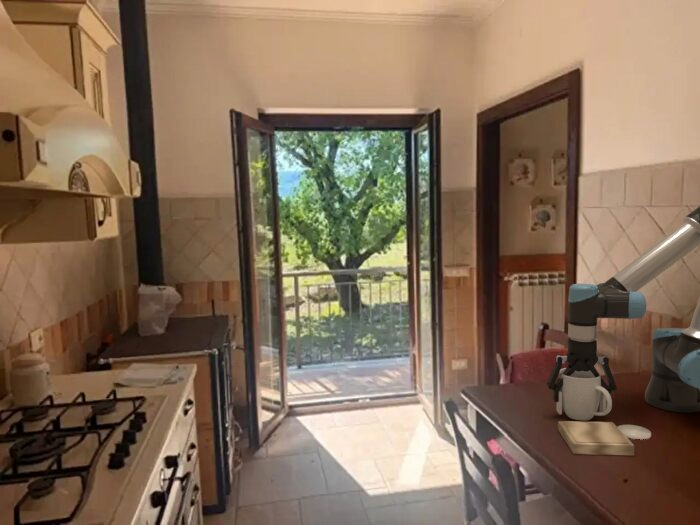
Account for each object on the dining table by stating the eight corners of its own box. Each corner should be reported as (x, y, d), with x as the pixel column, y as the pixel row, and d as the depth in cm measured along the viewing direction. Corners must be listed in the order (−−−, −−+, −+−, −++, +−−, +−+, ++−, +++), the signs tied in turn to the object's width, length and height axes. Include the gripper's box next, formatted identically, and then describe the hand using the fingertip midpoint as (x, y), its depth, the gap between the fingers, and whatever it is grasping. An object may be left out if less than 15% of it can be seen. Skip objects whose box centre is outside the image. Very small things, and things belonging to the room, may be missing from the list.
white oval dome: (642, 428, 140) (642, 424, 140) (656, 441, 132) (656, 437, 132) (611, 428, 141) (611, 424, 141) (624, 440, 133) (624, 437, 133)
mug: (621, 422, 144) (622, 376, 143) (599, 432, 138) (599, 385, 137) (573, 406, 156) (573, 364, 155) (550, 415, 150) (550, 371, 149)
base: (612, 431, 138) (612, 421, 138) (634, 455, 125) (634, 444, 124) (558, 430, 140) (558, 420, 140) (573, 453, 126) (573, 443, 126)
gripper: (621, 335, 148) (619, 409, 150) (535, 335, 151) (535, 407, 153) (631, 342, 140) (629, 419, 143) (542, 341, 144) (541, 416, 146)
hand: (580, 413), depth 148 cm, fingers closed on mug, 11 cm apart
